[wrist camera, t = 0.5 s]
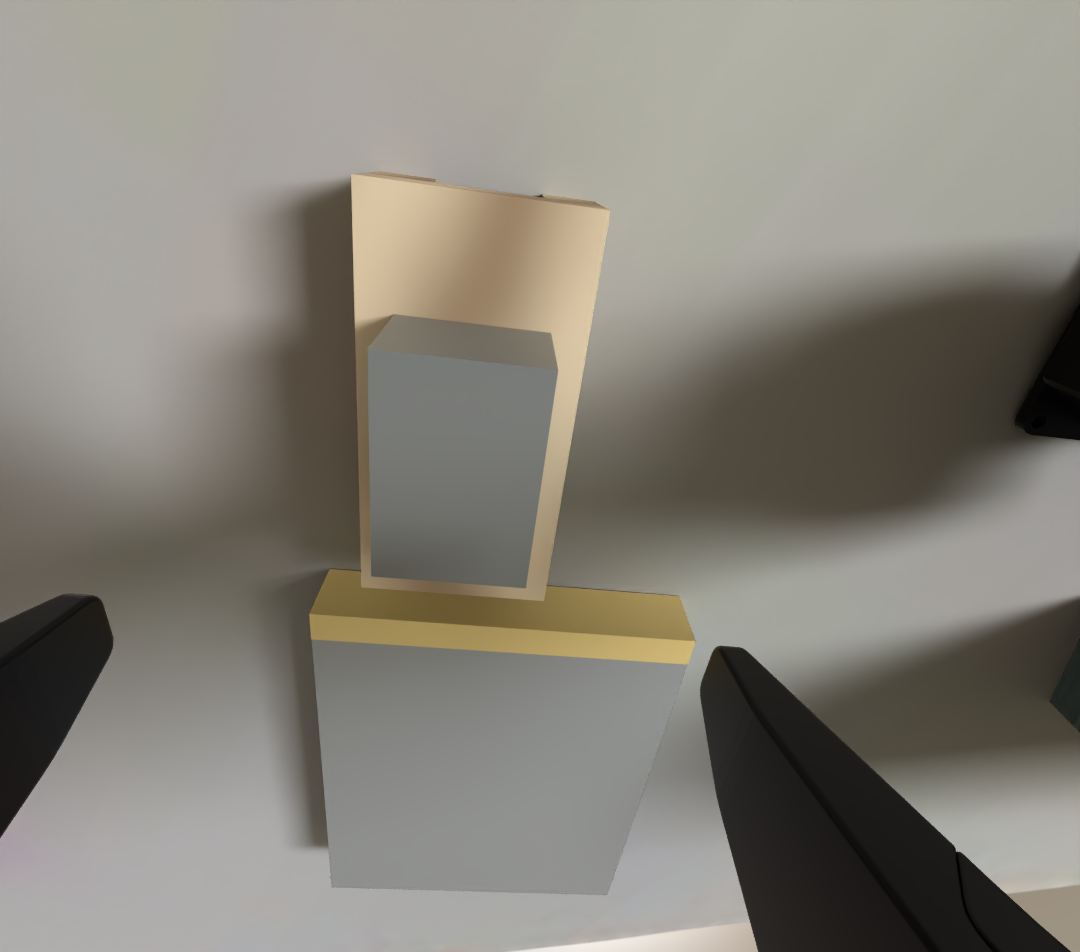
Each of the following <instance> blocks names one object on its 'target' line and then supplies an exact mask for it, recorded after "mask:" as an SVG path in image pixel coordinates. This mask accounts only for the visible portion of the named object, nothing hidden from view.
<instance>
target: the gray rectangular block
mask: <svg viewBox="0 0 1080 952" xmlns="http://www.w3.org/2000/svg"><path fill="white" fill-rule="evenodd" d="M557 376H558V366H557V361H556V356H555V351H554V345H553V340H552V335H551V333H548V332H539V331H531V330H523V329H514V328H506V327H497V326H489V325H481V324H472V323H464V322H455V321H447V320H439V319H430V318H422V317H413V316H405V315H397V314H394V316H393V317H392V318H391V319H390V321H389V322H388V323H387V324H386V326H385V327H384V328H383V330H382V331H381V332H380V333H379V335H378V336H377V337H376V338H375V340H374V341H373V342H372V344H371V345H370V346H369V347H368V408H369V471H370V534H371V577H384V578H397V579H410V580H423V581H436V582H449V583H462V584H475V585H488V586H501V587H514V588H526V584H527V577H528V571H529V564H530V557H531V550H532V544H533V537H534V530H535V524H536V517H537V510H538V503H539V497H540V490H541V483H542V477H543V470H544V463H545V456H546V450H547V443H548V436H549V430H550V423H551V416H552V409H553V403H554V396H555V389H556V383H557Z"/></svg>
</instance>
